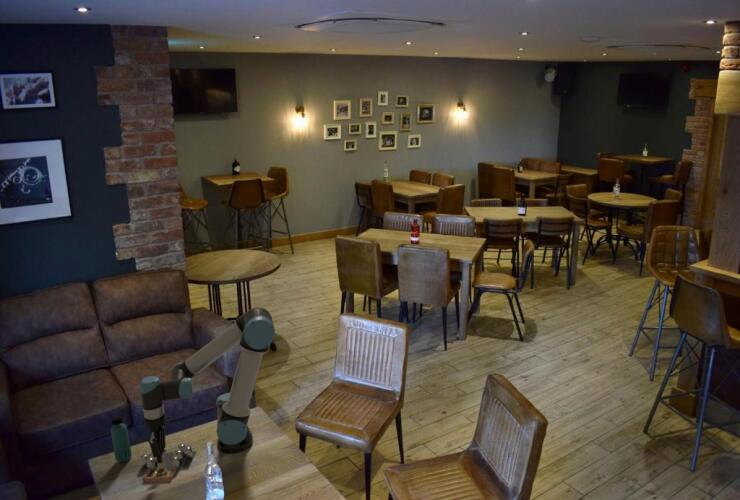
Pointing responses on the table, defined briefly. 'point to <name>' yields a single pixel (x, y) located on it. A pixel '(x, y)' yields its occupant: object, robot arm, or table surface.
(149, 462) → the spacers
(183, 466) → the mat
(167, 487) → the table surface
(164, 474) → the nut
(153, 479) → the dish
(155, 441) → the robot arm
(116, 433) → the beverage bottle
